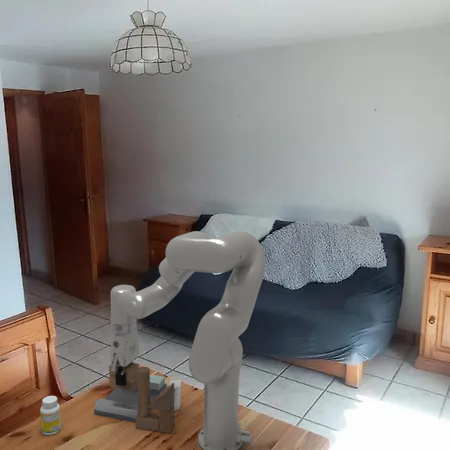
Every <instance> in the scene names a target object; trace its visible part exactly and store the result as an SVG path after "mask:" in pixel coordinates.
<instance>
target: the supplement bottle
mask: <svg viewBox="0 0 450 450" xmlns="http://www.w3.org/2000/svg"><path fill="white" fill-rule="evenodd" d="M41 401H42V402H41V403H42V405H41V407H40V409H39V411H40V412H39V413H40V426H41V427H40V428H41V432H42V434H44V435H45V436H52V435H55V434H57V433H58V432H60V431H61V429H62V418H61V406H60V405H61V404H60V403H59V402H58V401H59V400H58V397H57V396H55V395H48V396H46V397H44V398H42V400H41Z"/></svg>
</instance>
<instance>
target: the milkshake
mask: <svg viewBox="0 0 450 450" xmlns="http://www.w3.org/2000/svg"><path fill="white" fill-rule="evenodd" d="M183 382H184V381H183V380H182V381H180V380H179V379H170V380H169V381H168V382H167V383H166V384H167V388H168V387H169V386H170V385H171V384H173V383H174V412H175V411H176V412H177V411H178V410H180V408H181V397H182V385H183Z"/></svg>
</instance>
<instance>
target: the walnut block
mask: <svg viewBox="0 0 450 450" xmlns="http://www.w3.org/2000/svg"><path fill="white" fill-rule="evenodd" d="M108 366H109V368H108V370H109V372H108V374H109V375H108V376H109V387H110V388H114V389H115V388H120V389H125V390H130V391H134V389H135V388H136V387H137V370H138V368H140V363H136V362H134V363H130V364H128V365H127V366H126V367H125V373H124V374H126V385H125V386H119V385H116V374H115V372H113V371H111V368H112V364H111V363H110V364H109V365H108ZM118 368H120V369H122V367H120V366H118Z"/></svg>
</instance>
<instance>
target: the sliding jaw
mask: <svg viewBox="0 0 450 450" xmlns="http://www.w3.org/2000/svg"><path fill="white" fill-rule="evenodd" d="M164 384H166V377H165V376H162V375H161V376H160V375H155V374H150V389H153V390H158V391H159V390H160V389H161V388H162V387H163V386H164Z"/></svg>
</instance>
